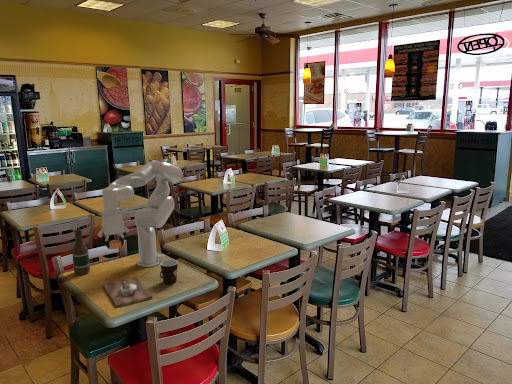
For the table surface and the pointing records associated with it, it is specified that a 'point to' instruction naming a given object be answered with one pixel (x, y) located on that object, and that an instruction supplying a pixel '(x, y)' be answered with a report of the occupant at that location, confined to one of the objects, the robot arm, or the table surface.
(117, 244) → the terracotta gear
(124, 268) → the table surface
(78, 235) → the beer bottle
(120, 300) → the gear board
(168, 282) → the coffee mug
